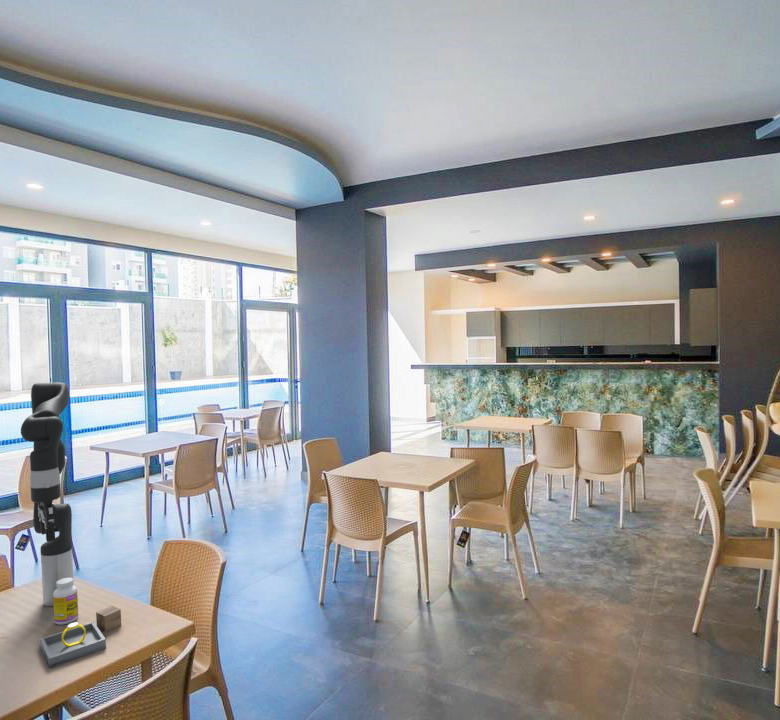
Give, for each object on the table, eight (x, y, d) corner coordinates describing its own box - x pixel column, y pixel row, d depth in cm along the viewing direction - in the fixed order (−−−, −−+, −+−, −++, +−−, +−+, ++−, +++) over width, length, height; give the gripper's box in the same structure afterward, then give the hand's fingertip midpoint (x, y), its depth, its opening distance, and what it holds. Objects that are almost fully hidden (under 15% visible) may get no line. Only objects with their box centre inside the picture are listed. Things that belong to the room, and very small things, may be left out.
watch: (63, 651, 155) (60, 631, 155) (62, 646, 157) (59, 627, 157) (87, 642, 158) (84, 622, 158) (86, 638, 161) (83, 618, 160)
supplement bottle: (67, 626, 170) (65, 585, 169) (49, 624, 171) (47, 584, 171) (83, 615, 176) (81, 576, 176) (65, 614, 178) (63, 575, 177)
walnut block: (96, 628, 168) (96, 612, 168) (112, 620, 173) (111, 605, 172) (105, 632, 166) (104, 616, 166) (121, 625, 170) (120, 609, 170)
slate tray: (40, 647, 158) (40, 638, 158) (94, 629, 167) (93, 621, 167) (49, 668, 148) (49, 658, 147) (106, 647, 157) (105, 639, 157)
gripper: (26, 482, 166) (29, 534, 167) (34, 490, 155) (37, 546, 156) (55, 477, 171) (57, 528, 171) (64, 485, 160) (67, 539, 161)
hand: (48, 537), depth 164 cm, fingers open, 8 cm apart
